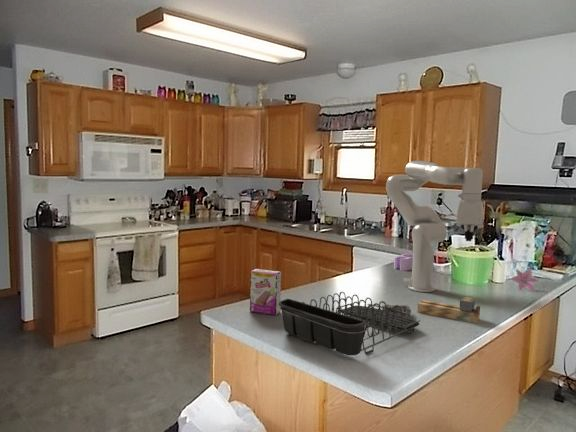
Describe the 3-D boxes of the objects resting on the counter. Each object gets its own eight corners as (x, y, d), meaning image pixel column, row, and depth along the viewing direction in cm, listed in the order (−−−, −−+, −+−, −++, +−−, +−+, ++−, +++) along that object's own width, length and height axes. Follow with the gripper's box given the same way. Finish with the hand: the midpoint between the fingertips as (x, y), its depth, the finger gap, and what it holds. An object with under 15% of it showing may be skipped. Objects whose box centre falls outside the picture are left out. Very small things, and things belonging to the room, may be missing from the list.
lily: (504, 290, 220) (511, 275, 215) (511, 277, 228) (517, 263, 223) (530, 301, 215) (537, 286, 209) (536, 287, 223) (543, 273, 217)
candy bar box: (249, 312, 174) (249, 270, 172) (254, 308, 179) (254, 268, 177) (276, 316, 171) (277, 273, 169) (280, 312, 175) (281, 271, 174)
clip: (406, 272, 251) (407, 260, 251) (388, 268, 261) (389, 256, 260) (427, 267, 264) (427, 256, 263) (409, 264, 274) (409, 252, 273)
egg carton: (383, 317, 172) (383, 307, 171) (381, 311, 179) (381, 301, 179) (411, 319, 171) (412, 309, 170) (408, 313, 178) (409, 303, 178)
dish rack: (272, 334, 152) (273, 299, 151) (354, 309, 182) (355, 280, 181) (351, 368, 127) (352, 327, 126) (430, 332, 158) (432, 298, 156)
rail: (417, 312, 179) (418, 300, 178) (421, 308, 184) (422, 296, 184) (476, 323, 167) (477, 310, 167) (479, 318, 172) (480, 306, 172)
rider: (459, 312, 170) (459, 299, 170) (462, 309, 175) (463, 296, 175) (471, 315, 168) (472, 302, 168) (474, 311, 173) (475, 298, 172)
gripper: (450, 197, 189) (448, 240, 191) (489, 198, 181) (486, 243, 183) (454, 196, 196) (452, 238, 197) (492, 198, 188) (489, 241, 189)
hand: (468, 240), depth 190 cm, fingers closed
